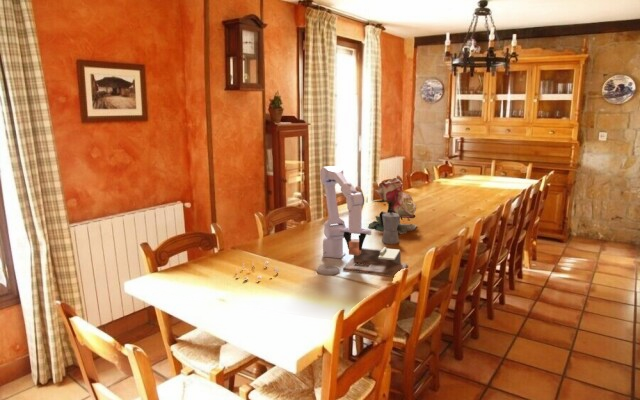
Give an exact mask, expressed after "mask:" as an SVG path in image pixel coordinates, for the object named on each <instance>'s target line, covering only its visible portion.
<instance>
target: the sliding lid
mask: <svg viewBox="0 0 640 400" xmlns="http://www.w3.org/2000/svg"><path fill="white" fill-rule="evenodd" d="M380 250H381V251H380V255H379V257H378V259H387V260H395V258H396V257H397V255H398V254H399V252H401V249H396V248H387V246H383V248H382V249H380Z"/></svg>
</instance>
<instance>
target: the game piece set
mask: <svg viewBox="0 0 640 400" xmlns="http://www.w3.org/2000/svg"><path fill="white" fill-rule="evenodd" d="M253 265H255V264H254V262H253V261H252V266H253ZM265 265H268V266H269V265H270V264H269V261H267V260H266V261H265V262H264V266H265ZM243 267H244V268H245V263H244V262H242V268H243ZM274 269H275V270H274V272H275V273H276V272H277V273H278V274H279V268H278V267H276V268H274ZM235 270H236V272H237V271H239V268H235ZM238 275H239V273H238V274H237V273H236V276H238ZM256 278H257V280H258V279H260V280H261V279H262V275H257V277H256ZM244 279H249V277H247V276H246V275H245V276H244V278H243V280H244Z"/></svg>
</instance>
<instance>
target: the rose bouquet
mask: <svg viewBox="0 0 640 400" xmlns="http://www.w3.org/2000/svg"><path fill="white" fill-rule="evenodd" d="M402 186H403V182H402V181H401V180H400V179H399V178H398V177H393V178H392V179H389V180H387V182H386V181H384V180H383V182H381V183H379V187H380V188H378V189H374V191H375V192H376V193H377V196H378V198H380V200H373V201H372V203H384V204H383V206H386V204H385V203H387V204H388V205H387V206H388V207H387V213H390V209H392V213H397V214H399V215H400V219H399V223H398V227H397V231H398V235H403V234H407V232H408V231H409V232H410V231H413V230H415V229H416V228H417V226H418V225H417V224H413V223H409V224H406V223H405V224H404V223H403V222H404V219H407V221H411V219H415V218H416V214H415V213H416V209H417V203H416V204H415V203H414V201H413V197H412V196H411V194H409V193H405V192H403V188H402ZM374 218H375V220H374V221H372V222H371V223H368V226H367V229H368V230H374V231H377V232H384V227H383V226H382V224H381V220H380V215H379V216H378V215H375V216H374ZM401 221H403V222H402V223H401Z"/></svg>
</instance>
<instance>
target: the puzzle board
mask: <svg viewBox="0 0 640 400" xmlns="http://www.w3.org/2000/svg"><path fill="white" fill-rule="evenodd" d="M381 250H382V249H377V248H375V249H374V248H365V247H362V249H361V253H360V254H359V255H353V257H352V258H351V259H350V260H349V261H348V262H347V263H346V264H345V265H344V267H342V268H343V272H344V271H346V272H353V273H361V274H371V275H378V276H379V275H381V276H388V277H390V276H391V277H395V276H394V275H395V274H396V273H397V272H398V271H400V270H401V269H404V268H406V269H407V267H408V262H401V261H402V260H401V259H402V257H401V256H402V252H401V251H400V252H399V254H398V255H397V257H396V258H395V260H387V259H378V257H379V255H380V251H381ZM357 265H364V266H357ZM365 266H367V267H365Z"/></svg>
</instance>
